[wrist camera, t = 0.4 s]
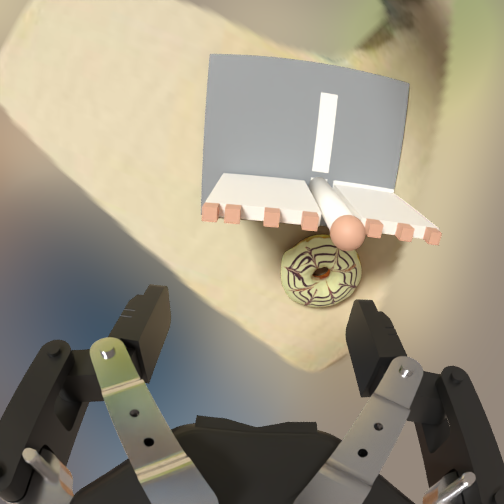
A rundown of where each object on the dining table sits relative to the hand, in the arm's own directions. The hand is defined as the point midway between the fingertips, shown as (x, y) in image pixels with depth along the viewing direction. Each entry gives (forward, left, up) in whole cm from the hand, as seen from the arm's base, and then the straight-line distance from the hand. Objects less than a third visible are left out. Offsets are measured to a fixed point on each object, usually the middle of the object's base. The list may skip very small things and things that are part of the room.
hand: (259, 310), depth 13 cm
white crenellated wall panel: (0, 0, -26) cm, 26 cm away
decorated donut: (+11, +9, -27) cm, 31 cm away
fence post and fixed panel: (0, +11, -26) cm, 28 cm away
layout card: (-5, +5, -27) cm, 27 cm away
